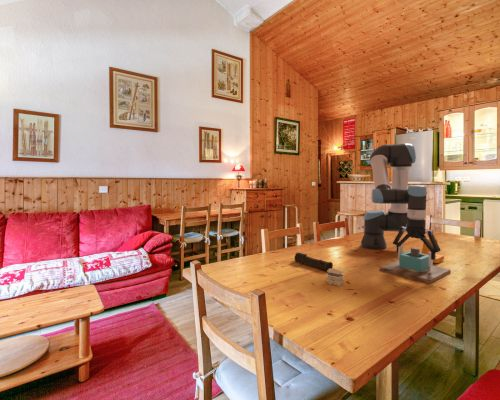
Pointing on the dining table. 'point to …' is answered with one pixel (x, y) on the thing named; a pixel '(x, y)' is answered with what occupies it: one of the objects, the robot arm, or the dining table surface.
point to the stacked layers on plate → (335, 277)
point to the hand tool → (312, 261)
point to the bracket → (426, 251)
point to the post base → (425, 276)
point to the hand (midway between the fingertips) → (414, 262)
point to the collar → (414, 262)
